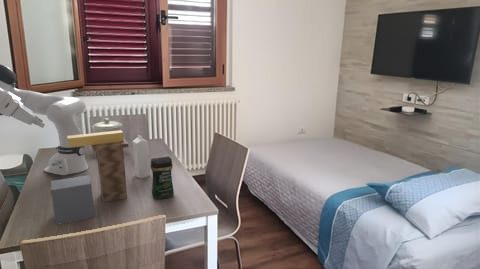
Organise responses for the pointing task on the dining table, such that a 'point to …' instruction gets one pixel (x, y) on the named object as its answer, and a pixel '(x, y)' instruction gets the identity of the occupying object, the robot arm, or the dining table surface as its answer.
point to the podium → (72, 199)
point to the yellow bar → (95, 138)
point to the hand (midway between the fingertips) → (42, 124)
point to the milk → (141, 157)
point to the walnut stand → (111, 170)
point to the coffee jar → (162, 177)
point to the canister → (106, 126)
